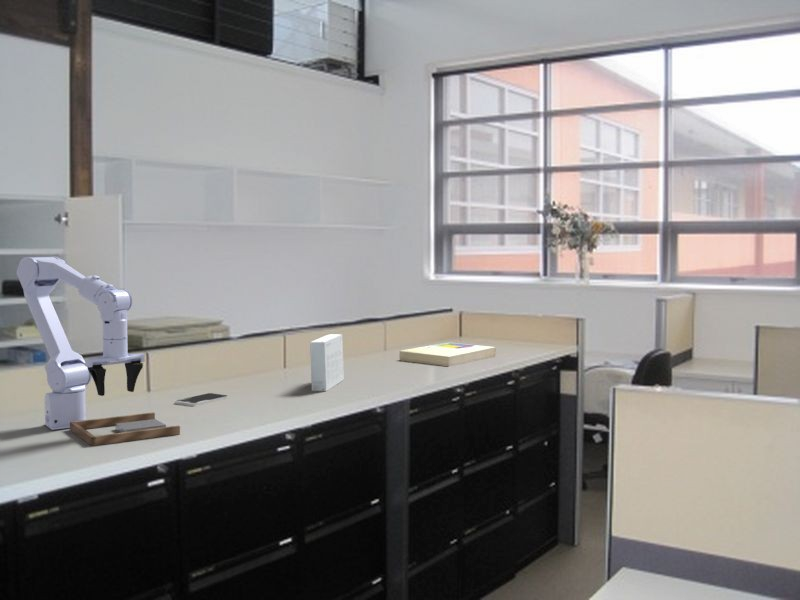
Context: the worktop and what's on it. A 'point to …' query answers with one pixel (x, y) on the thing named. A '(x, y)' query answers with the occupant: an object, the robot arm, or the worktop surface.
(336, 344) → the skincare box
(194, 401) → the smartphone
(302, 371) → the worktop surface
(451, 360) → the puzzle box
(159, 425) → the cover plate
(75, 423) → the walnut u-shaped frame
